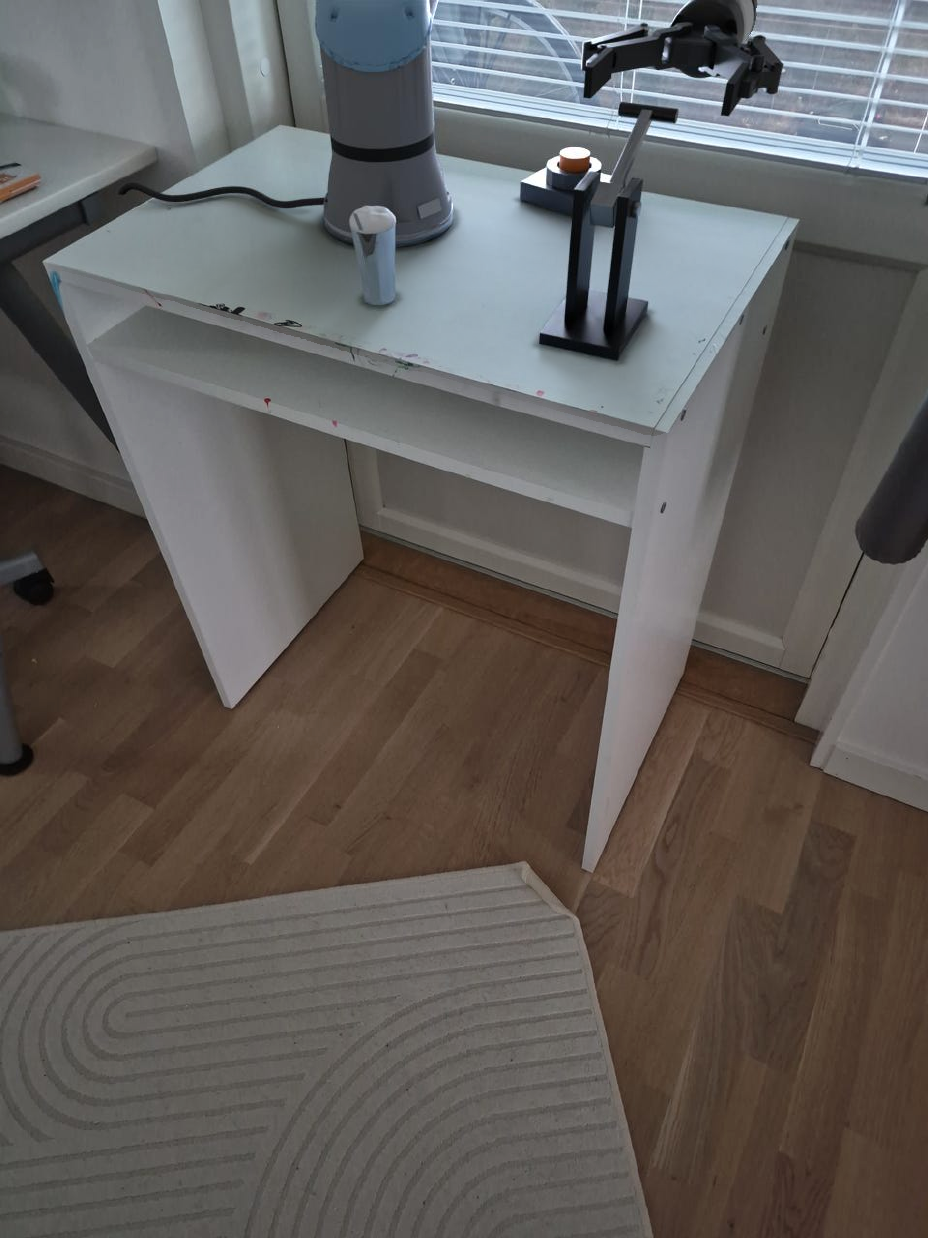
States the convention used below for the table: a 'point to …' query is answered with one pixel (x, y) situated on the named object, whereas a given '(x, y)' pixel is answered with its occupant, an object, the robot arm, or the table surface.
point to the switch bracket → (585, 313)
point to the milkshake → (375, 252)
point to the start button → (574, 159)
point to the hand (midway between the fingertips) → (655, 91)
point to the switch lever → (626, 160)
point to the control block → (556, 185)
